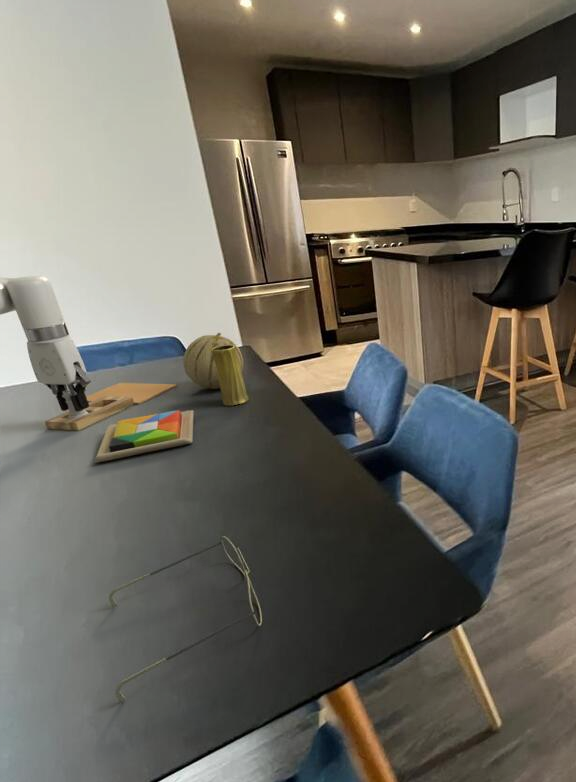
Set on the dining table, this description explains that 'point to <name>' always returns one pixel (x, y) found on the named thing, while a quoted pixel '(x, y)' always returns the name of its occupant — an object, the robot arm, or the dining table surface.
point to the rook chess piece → (72, 407)
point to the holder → (91, 413)
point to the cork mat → (133, 391)
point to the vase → (229, 375)
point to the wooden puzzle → (146, 435)
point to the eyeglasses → (113, 604)
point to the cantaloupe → (206, 360)
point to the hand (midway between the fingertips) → (75, 408)
